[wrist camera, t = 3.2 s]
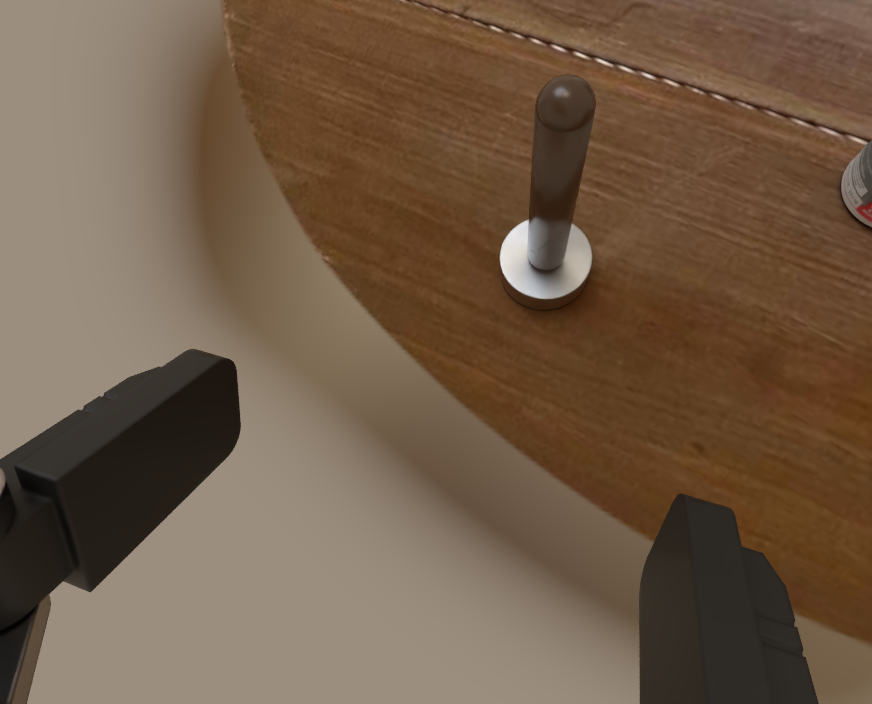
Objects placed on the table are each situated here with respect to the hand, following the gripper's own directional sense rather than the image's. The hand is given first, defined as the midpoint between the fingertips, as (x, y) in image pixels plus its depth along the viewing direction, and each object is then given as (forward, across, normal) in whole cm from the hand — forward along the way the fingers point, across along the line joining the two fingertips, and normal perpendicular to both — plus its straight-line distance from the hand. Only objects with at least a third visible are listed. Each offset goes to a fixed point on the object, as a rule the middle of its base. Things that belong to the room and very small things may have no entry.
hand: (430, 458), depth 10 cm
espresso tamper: (+20, 0, +3) cm, 20 cm away
